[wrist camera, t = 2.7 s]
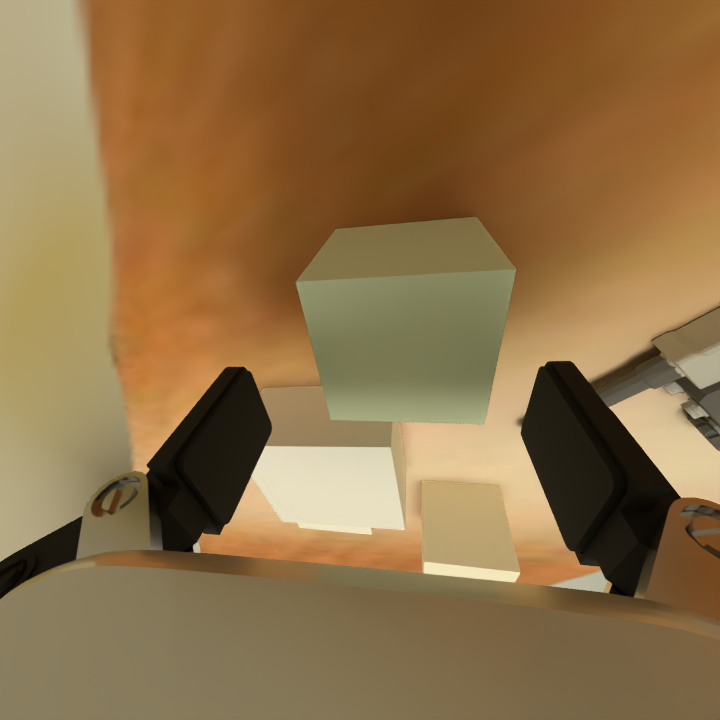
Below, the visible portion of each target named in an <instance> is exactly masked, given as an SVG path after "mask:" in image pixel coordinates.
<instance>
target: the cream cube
mask: <svg viewBox="0 0 720 720" xmlns="http://www.w3.org/2000/svg"><path fill="white" fill-rule="evenodd" d="M421 528H422V572H423V573H424V574H434V575H444V576H454V577H464V578H474V579H485V580H495V581H505V582H515V581H516V579H517V578H518V576H519V574H520V569H519V564H518V560H517V556H516V552H515V548H514V544H513V540H512V536H511V532H510V528H509V523H508V519H507V515H506V511H505V507H504V503H503V499H502V495H501V491H500V486H499V485H489V484H473V483H458V482H442V481H426V480H422V499H421Z"/></svg>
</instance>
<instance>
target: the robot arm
mask: <svg viewBox="0 0 720 720" xmlns="http://www.w3.org/2000/svg"><path fill="white" fill-rule="evenodd" d="M271 432H272V423H271V421H270V418H269V416H268V413H267V411H266V408H265V406H264V403H263V401H262V398H261V396H260V393H259V391H258V388H257V386H256V383H255V381H254V378H253V376H252V374H251V372H250V371H247V369H246V368H245V367H227V368H225V369H224V370H223V372H222V373H221V374H220V375H219V376H218V378H217V379H216V380H215V381H214V383H213V384H212V385H211V386H210V388H209V389H208V390H207V391H206V392H205V394H204V395H203V396H202V397H201V399H200V400H199V401H198V402H197V404H196V405H195V406H194V407H193V408H192V410H191V411H190V412H189V413H188V415H187V416H186V417H185V418H184V420H183V421H182V422H181V423H180V424H179V426H178V427H177V428H176V429H175V431H174V432H173V433H172V434H171V436H170V437H169V438H168V439H167V440H166V442H165V443H164V444H163V445H162V447H161V448H160V449H159V450H158V452H157V453H156V454H155V455H154V456H153V458H152V459H151V460H150V461H149V463H148V464H147V467H148V468H149V469H150V470H149V471H148V473H147V474H146V475H145V474H144V473H142V472H138V471H133V472H128V473H124V474H122V475H119V476H117V477H115V478H113V479H112V480H110V481H108V482H107V483H106V484H104V485H103V486H102V487H100V488H99V489H98V490H97V491H96V492H95V494H93V495H92V497H91V498H90V500H89V501H88V502H87V504H86V507H85V509H84V513H83V516H81V517H79V518H78V519H76V520H74V521H72V522H70V523H69V524H67V525H65V526H63V527H61V528H59V529H58V530H56V531H54V532H52V533H51V534H48V535H47V536H45V537H43V538H41V539H39V540H37V541H36V542H34V543H32V544H30V545H28V546H26V547H25V548H23V549H21V550H19V551H17V552H16V553H14V554H12V555H11V556H9V557H7V558H6V559H4V560H3V561H1V562H0V720H720V505H719V504H717V503H714V502H711V501H709V500H704V499H699V498H681V497H680V496H679V495H678V493H677V492H676V491H675V490H674V488H673V487H672V486H671V485H670V483H669V482H668V481H667V480H666V478H665V477H664V476H663V475H662V473H661V472H660V471H659V469H658V468H657V467H656V466H655V464H654V463H653V462H652V461H651V459H650V458H649V457H648V456H647V454H646V453H645V452H644V450H643V449H642V448H641V447H640V445H639V444H638V443H637V442H636V440H635V439H634V438H633V437H632V435H631V434H630V433H629V432H628V430H627V429H626V428H625V426H624V425H623V424H622V423H621V421H620V420H619V419H618V418H617V416H616V415H615V414H614V413H613V412H612V411H611V410H610V409H609V408H608V407H607V405H606V404H605V403H604V402H603V400H602V399H601V398H600V396H599V395H598V394H597V393H596V391H595V390H594V389H593V388H592V386H591V385H590V384H589V382H588V381H587V380H586V379H585V377H584V376H583V375H582V374H581V372H580V371H579V370H578V368H577V367H576V366H575V365H574V363H572V362H571V361H549V362H547V363H546V365H545V366H542V367H540V368H539V370H538V373H537V377H536V380H535V383H534V387H533V390H532V394H531V397H530V401H529V404H528V407H527V411H526V414H525V418H524V421H523V425H522V429H521V433H522V438H523V441H524V444H525V446H526V449H527V451H528V454H529V456H530V458H531V461H532V463H533V466H534V468H535V471H536V473H537V476H538V478H539V481H540V483H541V485H542V488H543V490H544V493H545V495H546V498H547V500H548V503H549V505H550V508H551V510H552V512H553V515H554V517H555V520H556V522H557V525H558V527H559V530H560V532H561V535H562V537H563V540H564V542H565V544H566V546H567V548H568V549H569V550H570V551H575V553H576V556H577V558H578V560H579V563H580V565H589V566H600V568H601V570H602V572H603V574H604V577H605V579H607V580H608V581H607V584H606V587H605V590H604V592H603V593H601V592H593V591H585V590H576V589H568V588H559V587H551V586H542V585H534V584H525V583H515V582H505V581H495V580H485V579H474V578H464V577H454V576H444V575H434V574H424V573H414V572H403V571H393V570H382V569H372V568H361V567H351V566H340V565H329V564H319V563H308V562H297V561H286V560H275V559H264V558H253V557H241V556H230V555H219V554H208V553H201V552H200V546H199V541H198V540H199V538H200V536H201V534H202V532H203V533H204V534H215V535H220V533H221V531H222V529H223V527H224V525H225V524H228V523H229V522H230V520H231V518H232V516H233V514H234V512H235V510H236V508H237V505H238V503H239V501H240V499H241V497H242V495H243V493H244V490H245V488H246V486H247V484H248V482H249V480H250V478H251V475H252V473H253V471H254V469H255V467H256V465H257V463H258V460H259V458H260V456H261V454H262V452H263V450H264V448H265V445H266V443H267V441H268V439H269V437H270V435H271Z"/></svg>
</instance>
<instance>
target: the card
mask: <svg viewBox="0 0 720 720" xmlns="http://www.w3.org/2000/svg"><path fill="white" fill-rule="evenodd" d="M298 525H299V527H300V528H309V529H319V530H329V531H339V532H350V533H360V534H370V535H372V531H373V529H372V528H371V527H356V526H341V525H326V524H312V523H298Z"/></svg>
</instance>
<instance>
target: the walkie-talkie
mask: <svg viewBox="0 0 720 720" xmlns="http://www.w3.org/2000/svg"><path fill="white" fill-rule="evenodd" d="M652 343H653V344H654V345H655V346H656V347H657V348H658V349H659V350H660V351H661V353H660V354H659V355H657V356H655V357H653V358H651V359H649V360H647V361H645V362H644V363H642V364H640V365H638V366H636V367H635V368H634V371H632V372H630V373H628V374H626V375H624V376H622V377H620V378H618V379H616V380H614V381H612V382H610V383H609V384H607V385H605V386H603V387H601V388H599V389H597V390H595V391H596V393H597V394H598V395H599V396H600V398H601V399H602V400H603V402H604V403H605V404H606V405H607V407H610V406H612V405H614V404H616V403H618V402H620V401H623V400H625V399H627V398H629V397H631V396H633V395H636V394H638V393H640V392H642V391H644V390H646V389H648V388H653V389H656V388H659V387H661V386H662V387H663V388H664V389H665V390H666V391H667V392H668V393H669V394H670V395H674V394H676V393H679V392H682V393H684V392H686V393H687V395H688V396H689V397H690V398H689V401H687V402H685V403H683V404H680V405H681V406H682V407H683V408H684V409H685V410H686V411H687V412H688V413H689V414H690V415H688V418H687V419H688V420H689V421H690V422H691V423H692V424H693V425H694V426H695V427H696V428H697V429H698V430H699V432H700V433H701V434H702V435H703V436H704V437H705V438H706V439H707V440H708V441H709V442H710V443H711V444H712V445H713V446H714V447H715V448H716V449H717V450H719V451H720V307H719V308H717V309H715V310H713V311H712V312H710V313H708V314H706V315H704V316H702V317H700V318H698V319H696V320H695V321H693V322H691V323H689V324H687V325H685V326H683V327H681V328H679V329H678V330H676V331H671V332H667V333H665V334H663V335H661V336H660V337H658V338H656V339H654V340H652ZM521 436H522V433H521Z"/></svg>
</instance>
